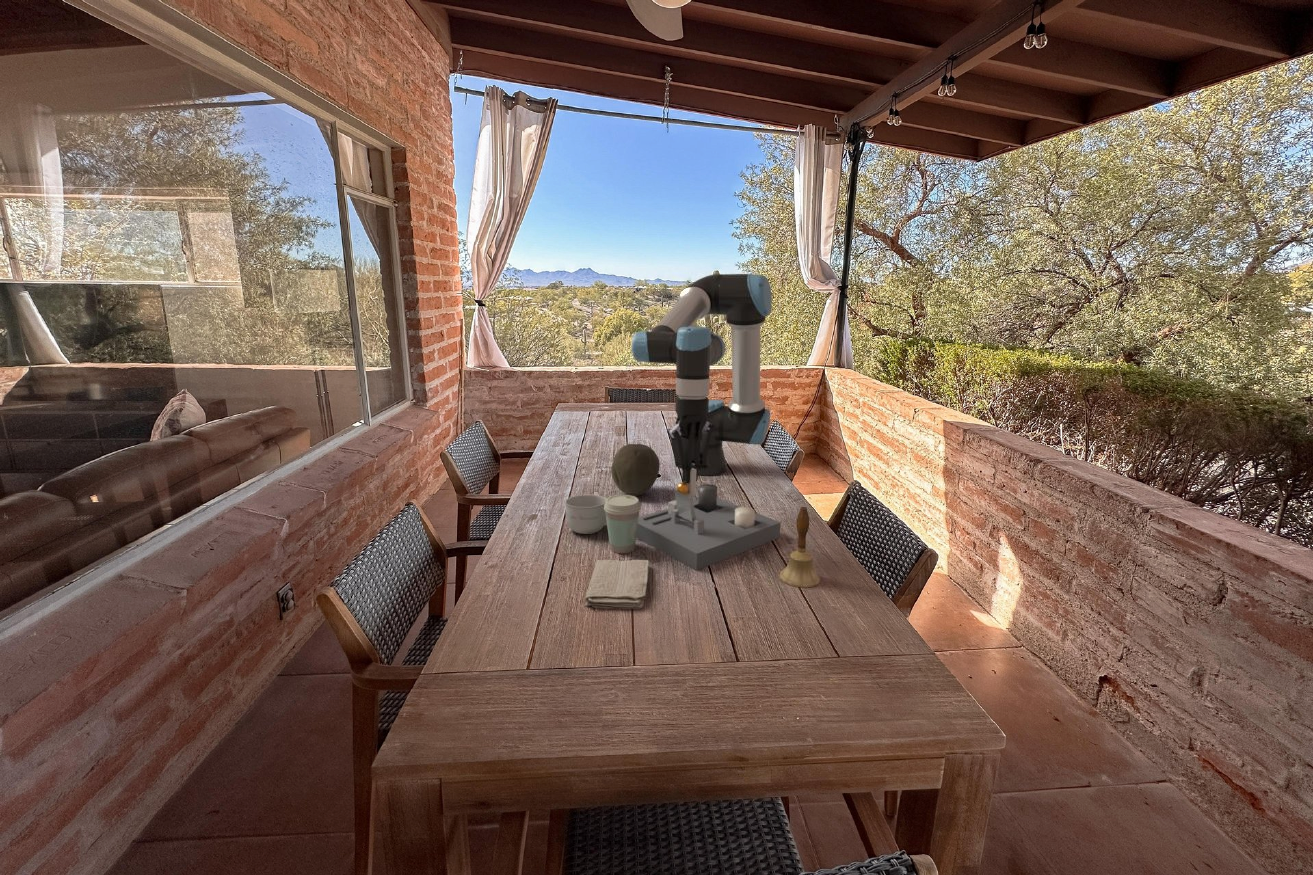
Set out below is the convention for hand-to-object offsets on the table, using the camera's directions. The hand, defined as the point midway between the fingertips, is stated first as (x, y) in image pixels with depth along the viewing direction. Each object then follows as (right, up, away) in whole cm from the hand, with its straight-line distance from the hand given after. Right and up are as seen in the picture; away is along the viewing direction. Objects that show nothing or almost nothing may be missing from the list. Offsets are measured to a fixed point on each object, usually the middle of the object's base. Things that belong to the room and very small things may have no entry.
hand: (689, 495), depth 137 cm
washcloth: (-16, -18, -17) cm, 29 cm away
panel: (+4, -11, +7) cm, 13 cm away
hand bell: (+23, -16, -14) cm, 31 cm away
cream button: (+14, -10, +6) cm, 18 cm away
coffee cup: (-16, -13, 0) cm, 20 cm away
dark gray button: (+6, -5, +15) cm, 17 cm away
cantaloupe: (-14, -3, +36) cm, 39 cm away
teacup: (-24, -10, +10) cm, 28 cm away
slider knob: (-3, -6, +10) cm, 12 cm away
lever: (0, -6, +2) cm, 6 cm away
